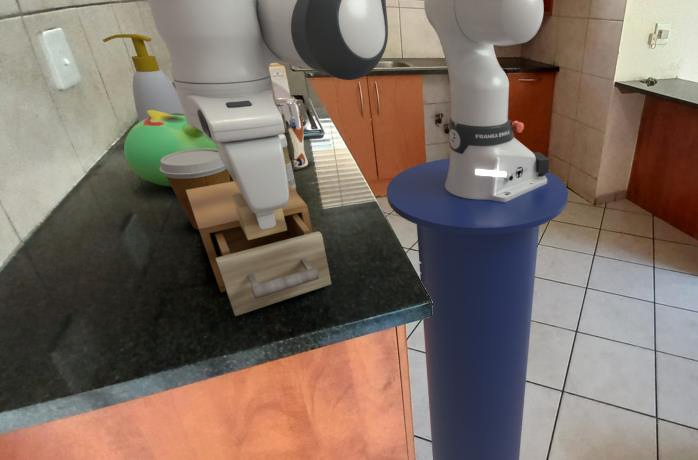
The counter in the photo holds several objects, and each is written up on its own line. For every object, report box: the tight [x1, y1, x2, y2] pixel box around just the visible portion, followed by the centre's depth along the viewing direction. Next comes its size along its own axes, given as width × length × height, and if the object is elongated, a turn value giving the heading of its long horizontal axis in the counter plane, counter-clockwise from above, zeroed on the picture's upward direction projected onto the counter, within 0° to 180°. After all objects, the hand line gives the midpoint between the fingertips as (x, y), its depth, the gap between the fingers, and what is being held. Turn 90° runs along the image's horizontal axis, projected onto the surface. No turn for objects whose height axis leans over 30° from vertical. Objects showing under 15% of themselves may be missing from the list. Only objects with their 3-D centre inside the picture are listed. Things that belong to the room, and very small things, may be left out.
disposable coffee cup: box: [159, 148, 231, 231], centre depth 72 cm, size 10×10×12 cm
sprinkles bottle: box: [278, 134, 298, 194], centre depth 79 cm, size 5×5×14 cm
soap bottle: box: [102, 33, 184, 123], centre depth 100 cm, size 11×12×26 cm
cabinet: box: [186, 180, 314, 293], centre depth 64 cm, size 15×13×10 cm
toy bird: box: [123, 110, 217, 187], centre depth 86 cm, size 18×17×15 cm
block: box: [232, 193, 287, 240], centre depth 53 cm, size 4×4×4 cm
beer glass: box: [276, 97, 310, 171], centre depth 96 cm, size 7×7×15 cm
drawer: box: [213, 213, 332, 317], centre depth 56 cm, size 18×12×8 cm, turn 39°
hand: (261, 217), depth 53 cm, fingers closed on block, 4 cm apart
